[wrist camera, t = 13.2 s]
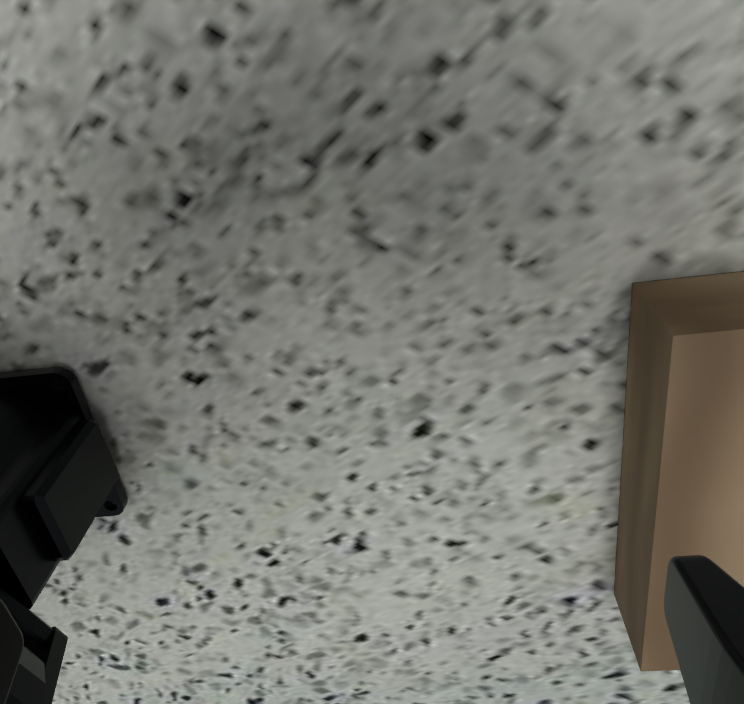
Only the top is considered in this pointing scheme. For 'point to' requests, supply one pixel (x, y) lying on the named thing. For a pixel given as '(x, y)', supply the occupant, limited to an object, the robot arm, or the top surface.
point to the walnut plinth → (680, 447)
